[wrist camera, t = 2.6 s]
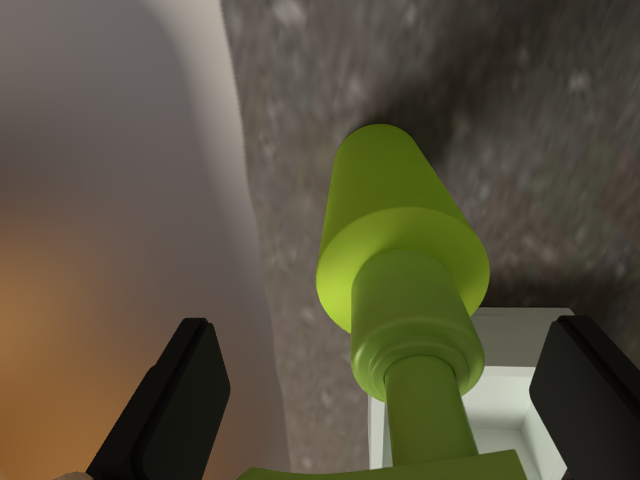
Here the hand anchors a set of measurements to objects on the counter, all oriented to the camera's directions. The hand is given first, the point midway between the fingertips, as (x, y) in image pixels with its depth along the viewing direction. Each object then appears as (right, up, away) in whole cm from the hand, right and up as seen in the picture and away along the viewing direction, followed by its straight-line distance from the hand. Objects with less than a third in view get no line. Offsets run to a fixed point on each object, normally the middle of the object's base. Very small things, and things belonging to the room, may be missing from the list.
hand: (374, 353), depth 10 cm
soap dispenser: (+2, +8, +14) cm, 16 cm away
